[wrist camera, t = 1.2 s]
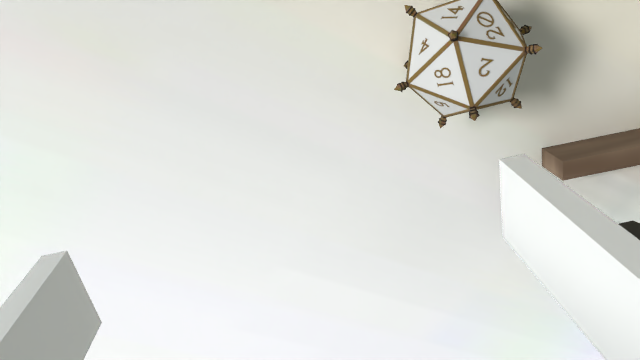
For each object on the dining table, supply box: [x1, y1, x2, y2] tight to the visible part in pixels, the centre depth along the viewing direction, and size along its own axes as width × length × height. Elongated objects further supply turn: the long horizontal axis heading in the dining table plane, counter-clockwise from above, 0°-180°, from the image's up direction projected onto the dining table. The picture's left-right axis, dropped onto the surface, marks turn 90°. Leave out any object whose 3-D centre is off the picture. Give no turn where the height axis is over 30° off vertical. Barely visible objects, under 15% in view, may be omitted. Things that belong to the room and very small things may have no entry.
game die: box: [394, 0, 542, 128], centre depth 31 cm, size 9×8×10 cm
